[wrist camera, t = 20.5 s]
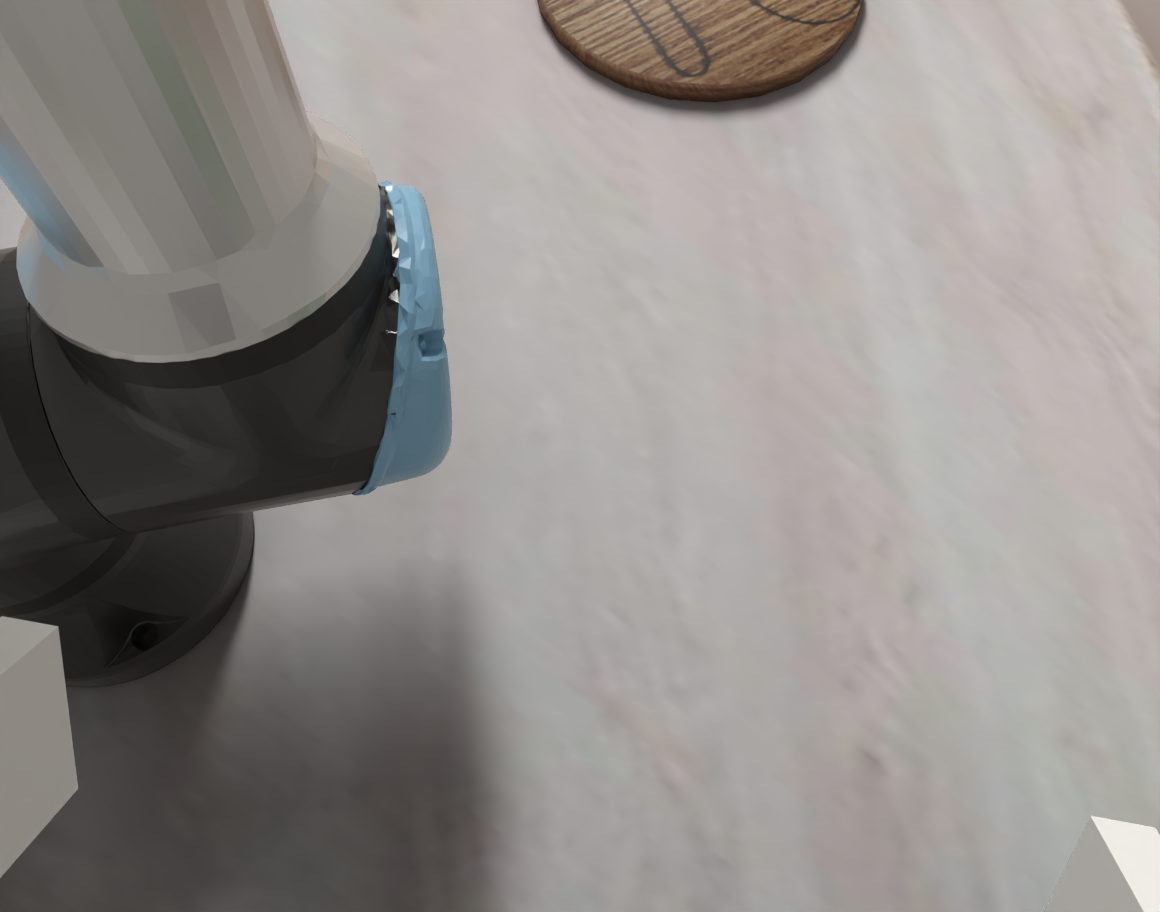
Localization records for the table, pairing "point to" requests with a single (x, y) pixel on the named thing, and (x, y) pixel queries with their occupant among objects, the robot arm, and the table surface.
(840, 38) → the trivet
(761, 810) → the table surface
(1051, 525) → the table surface
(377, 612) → the table surface
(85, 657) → the robot arm
